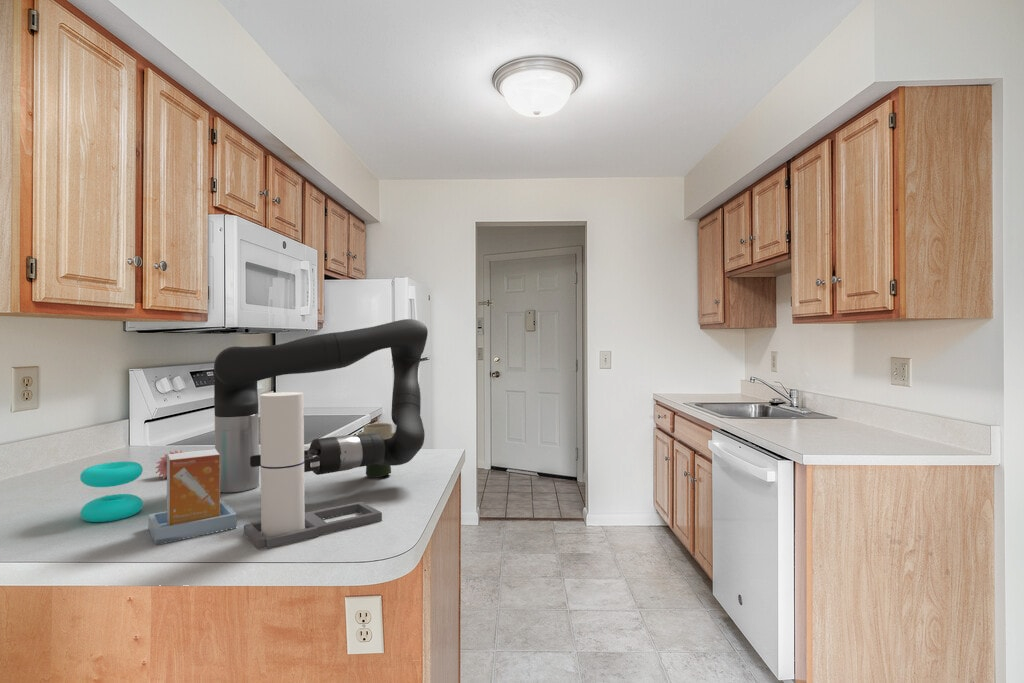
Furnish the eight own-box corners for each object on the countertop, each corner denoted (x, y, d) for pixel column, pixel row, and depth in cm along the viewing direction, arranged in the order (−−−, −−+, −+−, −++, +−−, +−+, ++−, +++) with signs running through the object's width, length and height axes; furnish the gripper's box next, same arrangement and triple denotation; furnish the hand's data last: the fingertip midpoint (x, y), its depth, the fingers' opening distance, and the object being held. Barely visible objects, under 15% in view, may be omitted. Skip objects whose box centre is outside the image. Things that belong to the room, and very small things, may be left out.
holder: (243, 532, 98) (242, 524, 98) (360, 507, 111) (360, 500, 111) (259, 550, 89) (259, 541, 89) (383, 521, 103) (383, 513, 103)
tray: (148, 528, 100) (148, 514, 100) (224, 514, 108) (224, 501, 108) (155, 545, 92) (155, 529, 92) (236, 528, 100) (236, 514, 100)
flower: (175, 450, 143) (167, 441, 139) (201, 462, 143) (194, 454, 138) (153, 476, 139) (144, 468, 134) (179, 489, 138) (171, 482, 134)
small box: (169, 533, 95) (168, 459, 95) (166, 524, 100) (166, 453, 100) (221, 524, 100) (220, 453, 100) (216, 515, 105) (215, 448, 105)
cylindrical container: (262, 544, 92) (261, 396, 92) (260, 531, 98) (259, 393, 98) (307, 536, 95) (305, 394, 95) (302, 524, 102) (301, 391, 101)
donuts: (67, 472, 102) (98, 461, 112) (68, 525, 102) (99, 509, 112) (126, 470, 104) (151, 459, 114) (127, 522, 104) (152, 506, 114)
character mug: (404, 473, 140) (403, 423, 140) (394, 480, 133) (393, 427, 133) (363, 472, 142) (363, 422, 141) (352, 479, 134) (351, 427, 134)
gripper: (324, 432, 123) (246, 441, 112) (349, 441, 112) (265, 452, 101) (324, 465, 123) (246, 477, 112) (349, 477, 112) (265, 492, 101)
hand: (255, 465), depth 107 cm, fingers open, 8 cm apart
